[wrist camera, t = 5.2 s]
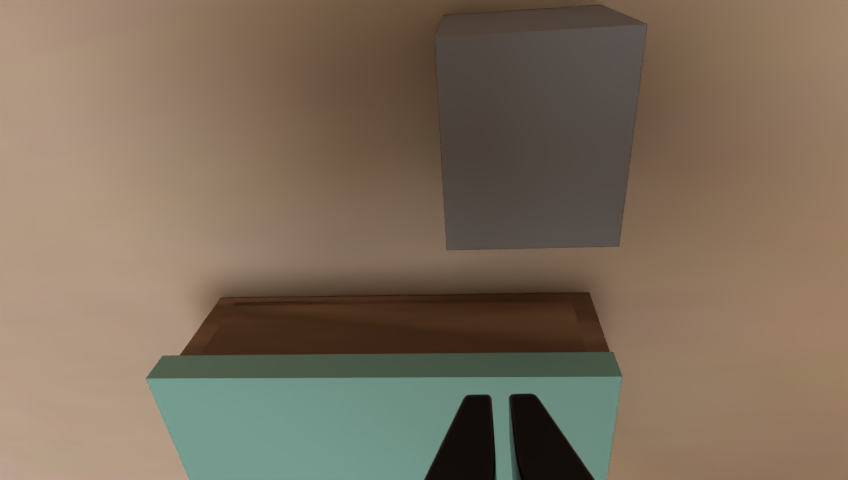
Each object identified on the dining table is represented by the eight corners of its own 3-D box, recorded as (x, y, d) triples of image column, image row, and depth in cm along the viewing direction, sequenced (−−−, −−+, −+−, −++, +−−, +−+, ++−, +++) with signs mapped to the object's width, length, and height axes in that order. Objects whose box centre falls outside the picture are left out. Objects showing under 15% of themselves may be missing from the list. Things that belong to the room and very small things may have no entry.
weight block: (585, 180, 20) (618, 246, 15) (451, 184, 20) (446, 250, 16) (600, 4, 17) (646, 24, 12) (443, 15, 17) (434, 37, 13)
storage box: (570, 481, 27) (585, 559, 24) (275, 475, 29) (249, 547, 26) (589, 292, 22) (611, 358, 18) (220, 298, 23) (176, 359, 20)
